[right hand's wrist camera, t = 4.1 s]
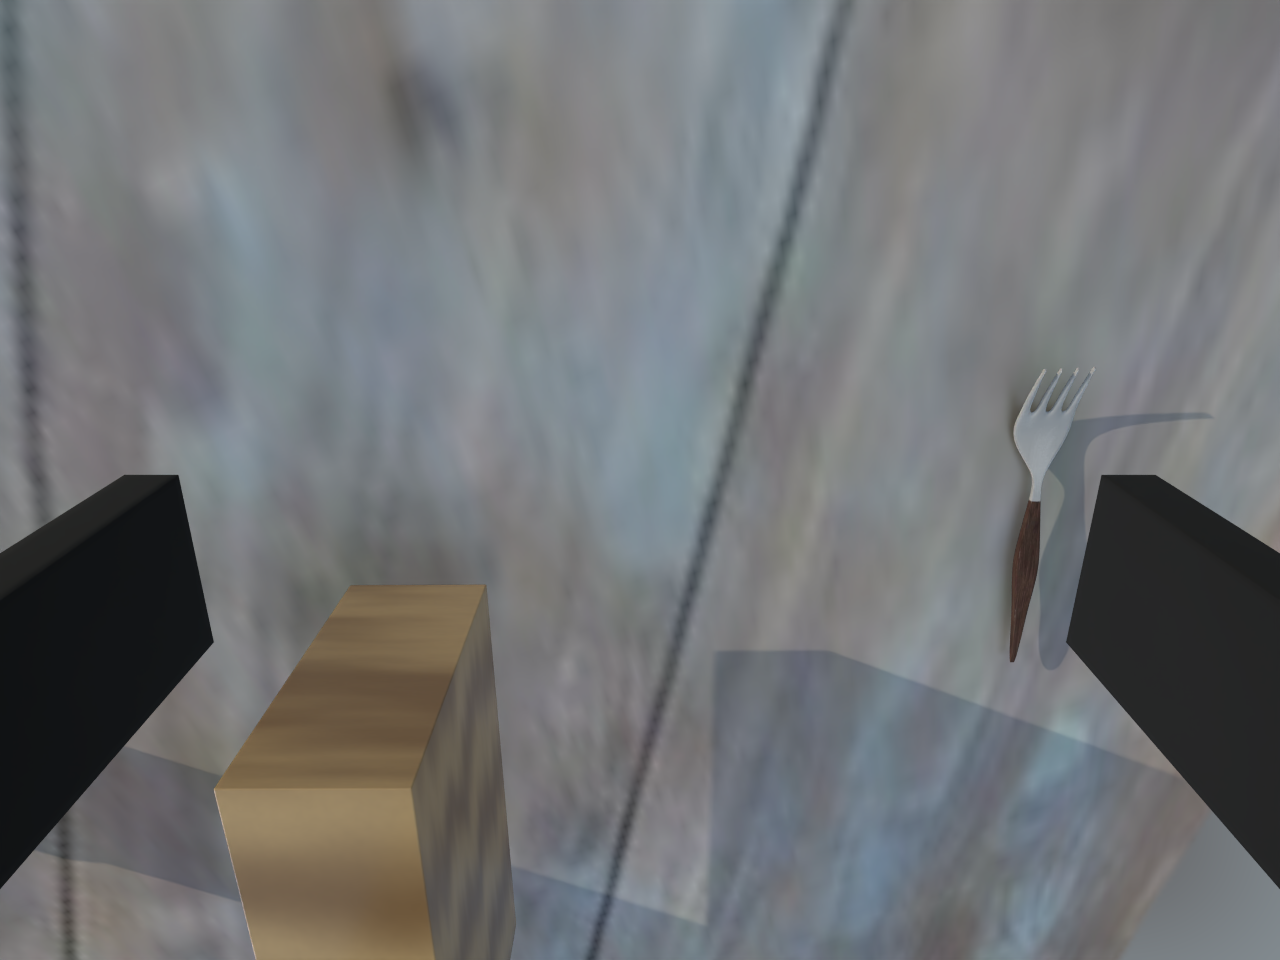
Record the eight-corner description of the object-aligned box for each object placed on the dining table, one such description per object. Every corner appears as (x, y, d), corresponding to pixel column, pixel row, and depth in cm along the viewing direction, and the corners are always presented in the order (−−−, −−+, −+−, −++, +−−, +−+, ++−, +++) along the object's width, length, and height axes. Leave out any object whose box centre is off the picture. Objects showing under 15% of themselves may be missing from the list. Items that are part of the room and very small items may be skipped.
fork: (982, 657, 44) (997, 679, 43) (1021, 358, 39) (1040, 369, 37) (1032, 655, 44) (1049, 678, 42) (1079, 356, 38) (1101, 367, 37)
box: (350, 584, 38) (212, 789, 26) (486, 584, 38) (411, 788, 26) (402, 924, 45) (315, 1202, 33) (516, 924, 45) (469, 1203, 33)
